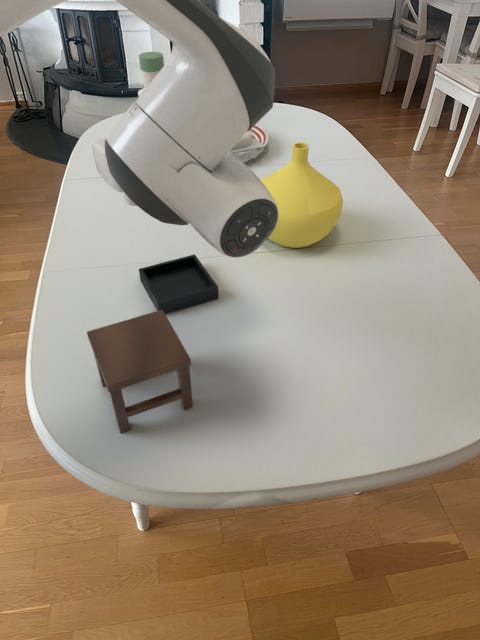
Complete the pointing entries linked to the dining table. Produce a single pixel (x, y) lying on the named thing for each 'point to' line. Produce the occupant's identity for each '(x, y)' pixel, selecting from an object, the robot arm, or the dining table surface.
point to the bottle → (150, 67)
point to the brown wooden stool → (140, 361)
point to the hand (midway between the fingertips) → (156, 127)
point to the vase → (302, 201)
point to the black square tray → (178, 284)
